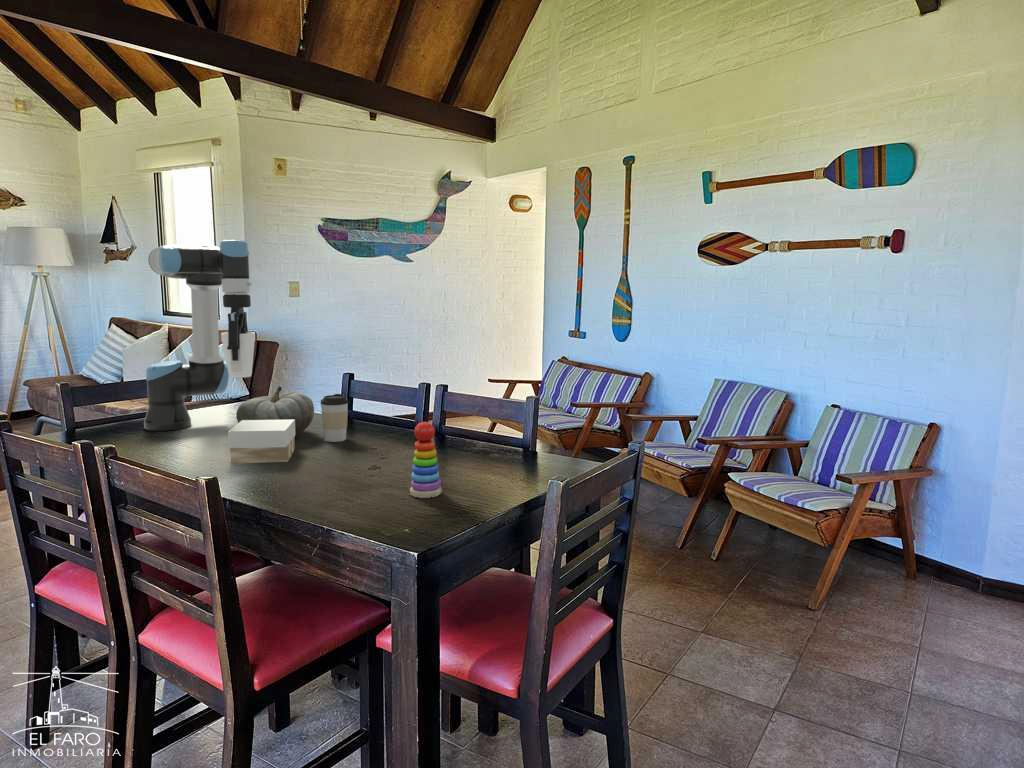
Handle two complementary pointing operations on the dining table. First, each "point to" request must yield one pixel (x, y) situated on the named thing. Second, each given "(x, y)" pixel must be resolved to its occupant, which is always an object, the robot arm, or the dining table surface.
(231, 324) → the robot arm
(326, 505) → the dining table surface
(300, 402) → the gourd
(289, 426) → the white square block
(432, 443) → the stacking toy
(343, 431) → the coffee cup
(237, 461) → the birch base block
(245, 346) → the foam cup
